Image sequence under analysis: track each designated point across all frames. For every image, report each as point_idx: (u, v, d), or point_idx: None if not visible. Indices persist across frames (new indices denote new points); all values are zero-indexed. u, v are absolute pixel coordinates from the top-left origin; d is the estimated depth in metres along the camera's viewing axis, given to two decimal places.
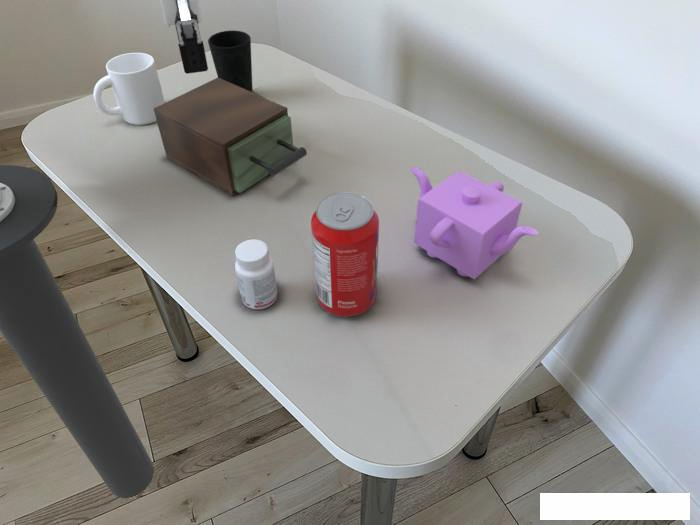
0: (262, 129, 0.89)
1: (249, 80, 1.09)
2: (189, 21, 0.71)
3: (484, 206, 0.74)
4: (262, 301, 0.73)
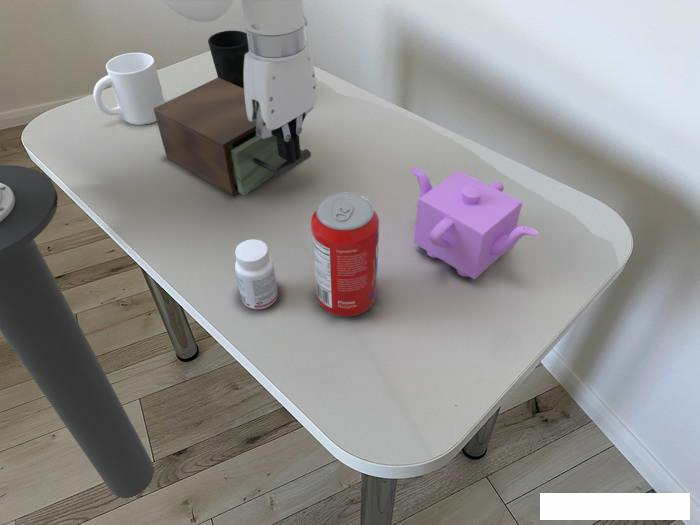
0: None
1: None
2: (261, 137, 0.80)
3: (484, 206, 0.74)
4: (262, 301, 0.73)
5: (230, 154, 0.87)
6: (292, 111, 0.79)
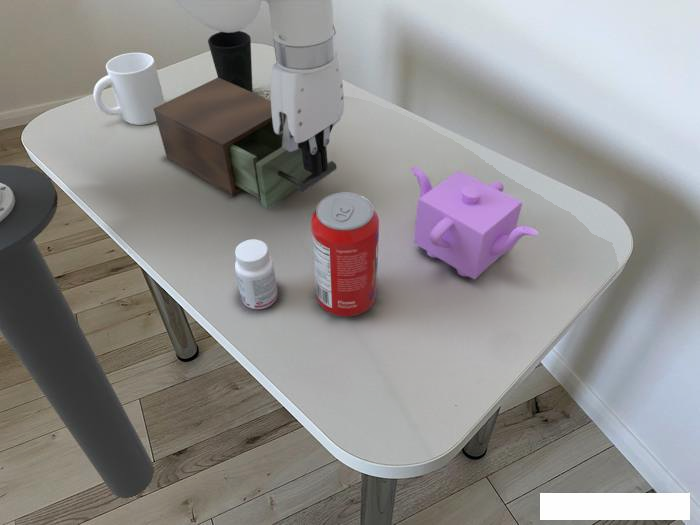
0: None
1: (249, 80, 1.09)
2: (287, 150, 0.77)
3: (484, 206, 0.74)
4: (262, 301, 0.73)
5: (254, 167, 0.84)
6: (320, 123, 0.77)
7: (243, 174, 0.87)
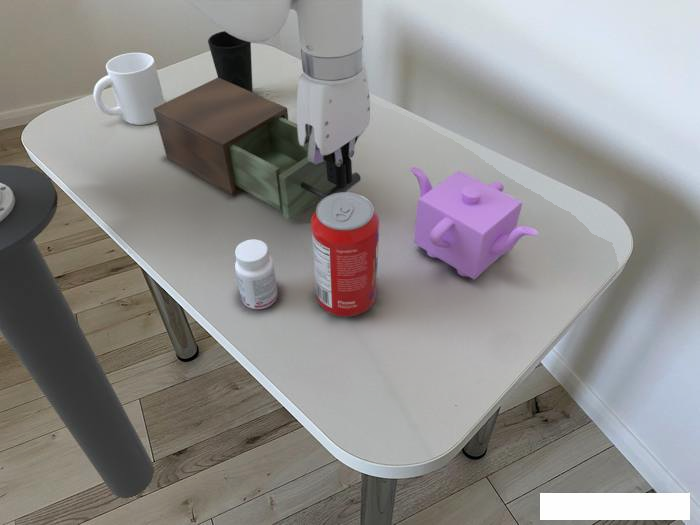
0: None
1: (249, 80, 1.09)
2: (313, 163, 0.75)
3: (484, 206, 0.74)
4: (262, 301, 0.73)
5: (276, 178, 0.82)
6: (346, 135, 0.75)
7: (264, 185, 0.85)
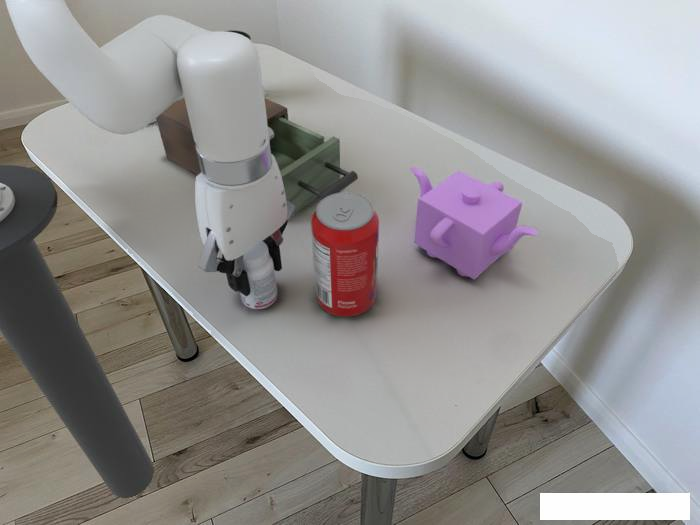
0: (311, 152, 0.84)
1: None
2: (203, 269, 0.64)
3: (484, 206, 0.74)
4: (262, 300, 0.73)
5: None
6: (256, 236, 0.66)
7: None
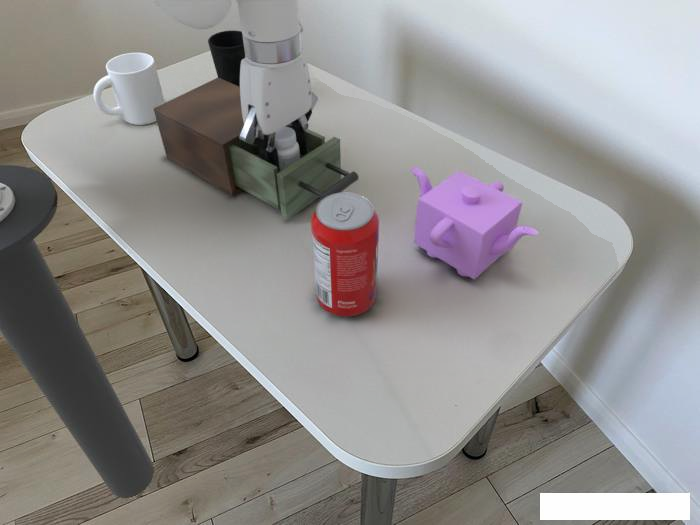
0: (312, 153, 0.84)
1: None
2: (244, 139, 0.79)
3: (484, 206, 0.74)
4: None
5: (274, 177, 0.83)
6: (287, 116, 0.81)
7: (262, 184, 0.86)
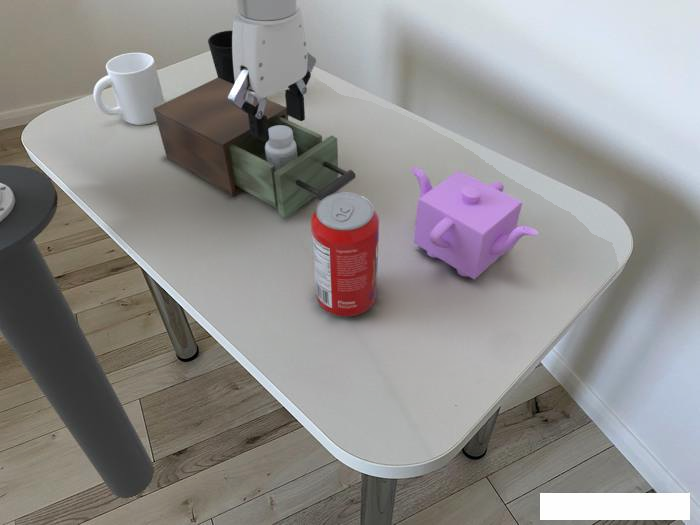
0: (309, 151, 0.84)
1: None
2: (232, 100, 0.74)
3: (484, 206, 0.74)
4: None
5: (272, 176, 0.83)
6: (282, 80, 0.77)
7: (260, 183, 0.86)
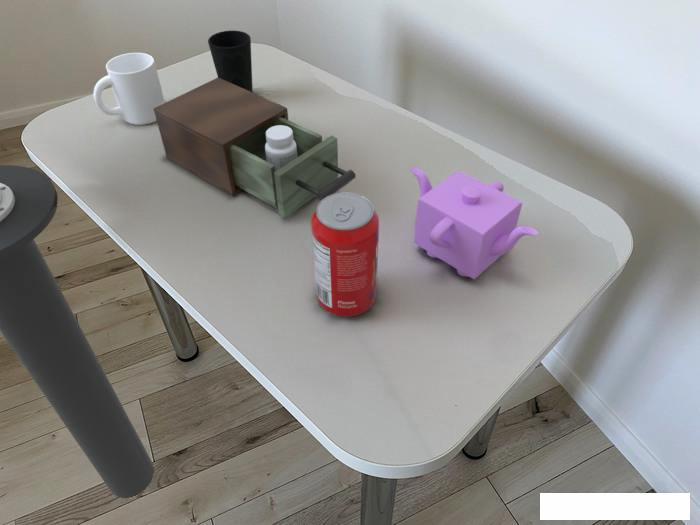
0: (309, 151, 0.84)
1: (249, 80, 1.09)
2: None
3: (484, 206, 0.74)
4: None
5: (272, 176, 0.83)
6: None
7: (260, 183, 0.86)
